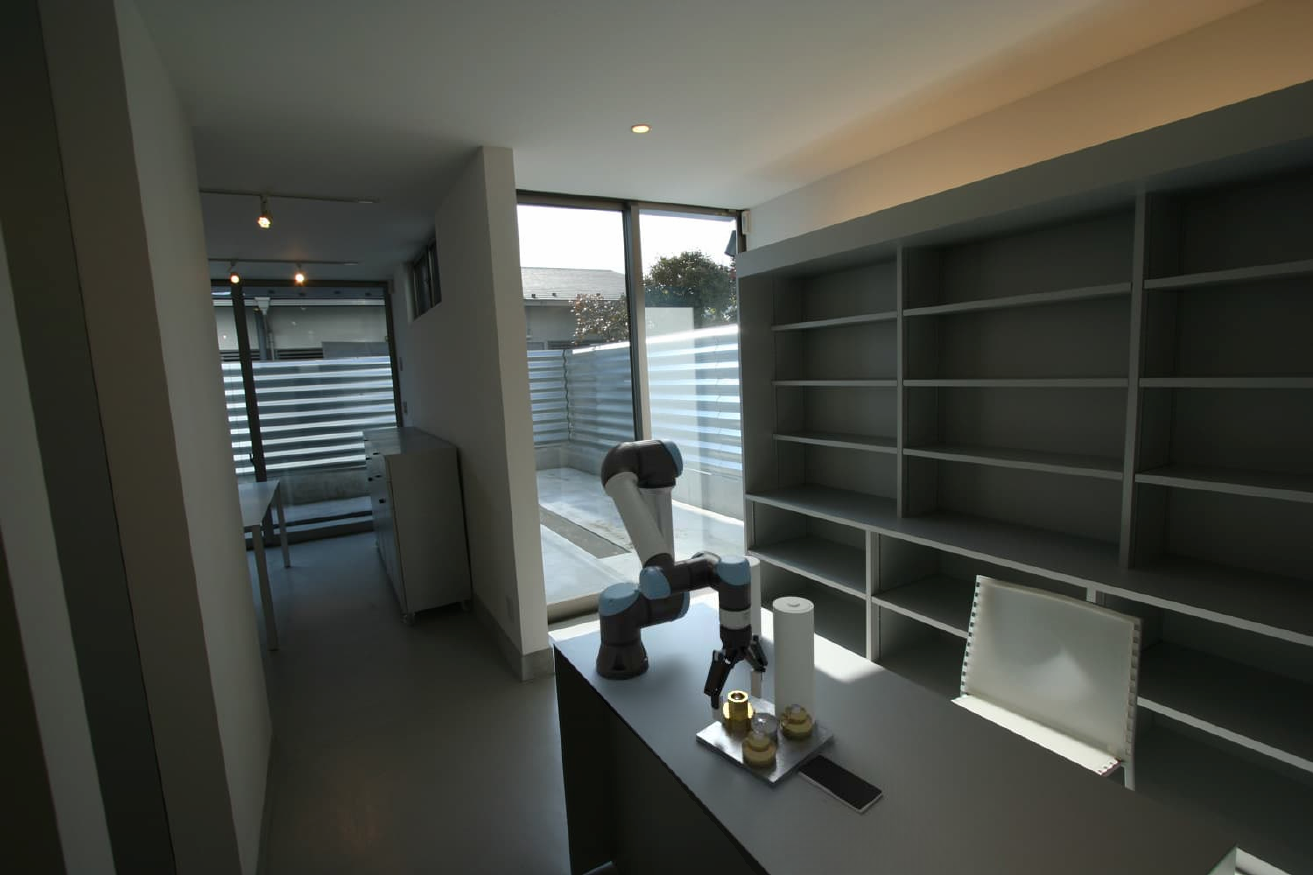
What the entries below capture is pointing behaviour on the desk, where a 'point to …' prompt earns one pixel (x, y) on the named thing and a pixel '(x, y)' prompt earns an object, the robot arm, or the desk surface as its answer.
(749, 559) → the tall pillar cylinder
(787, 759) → the plate
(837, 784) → the smartphone
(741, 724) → the gear
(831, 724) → the desk surface
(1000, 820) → the desk surface
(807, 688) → the cylinder container
